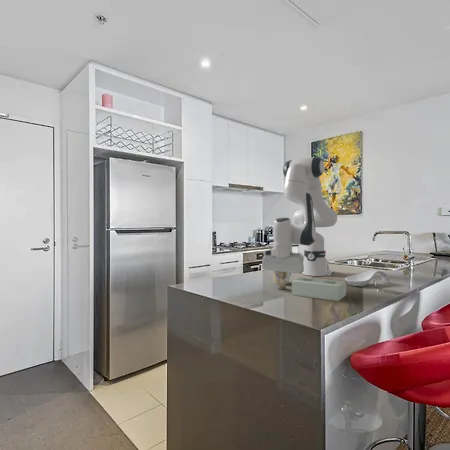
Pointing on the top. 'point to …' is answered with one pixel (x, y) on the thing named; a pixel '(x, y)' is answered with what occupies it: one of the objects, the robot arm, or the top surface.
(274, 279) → the coffee cup
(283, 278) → the peg
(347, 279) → the spoon rest
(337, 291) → the hole block
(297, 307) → the top surface
